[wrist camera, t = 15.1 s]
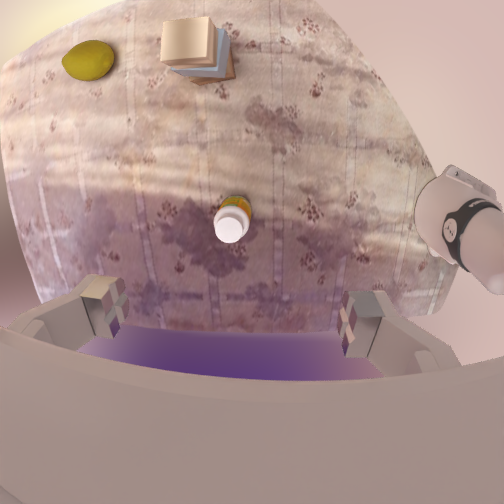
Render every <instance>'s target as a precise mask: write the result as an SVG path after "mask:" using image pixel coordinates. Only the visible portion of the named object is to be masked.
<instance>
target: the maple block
mask: <svg viewBox="0 0 504 504" xmlns="http://www.w3.org/2000/svg"><path fill="white" fill-rule="evenodd" d="M217 48H218V30H217V29H216V27H215V25H214V24H213V22H212V21H211V19H210V17H209V16H207V17H196V18H186V19H178V20H171V21H165V22H163V29H162V41H161V55H160V61H161V62H163V63H165V64H167V65H169V66H171V67H173V68H175V69H177V70H178V69H190V68H205V67H217Z"/></svg>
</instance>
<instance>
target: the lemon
mask: <svg viewBox="0 0 504 504" xmlns="http://www.w3.org/2000/svg"><path fill="white" fill-rule="evenodd" d="M113 62H114V53H113V51H112V49H111V48H110V46H109V45H107V44H106V43H104V42H101V41H98V40H89V41H85V42H82V43H80V44H78V45H76V46H75V47H73V48H72V49H71V50H70V51H69V52H68V53H67V54H66V55H65V56H64V57H63V58H62V65H63V67H64V68H65V70H66V72H67V73H68V74H69V75H70V76H71V77H73V78H75V79H78V80H82V81H92V80H97V79H99V78H101V77H102V76H104V75H105V74H106V73H107V72H108V71H109V69H110V68H111V66H112V64H113Z"/></svg>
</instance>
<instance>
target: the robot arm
mask: <svg viewBox="0 0 504 504" xmlns="http://www.w3.org/2000/svg"><path fill="white" fill-rule="evenodd" d="M456 172H457V174H456V175H455V173H456ZM414 219H415V226H416V229H417V232H418V234H419V235H420V237H421V238H422V239H423V240H424V241H425V242H426V244H427V247H428V250H429V253H430V254H431V255H432V256H434V257H437V256H441V257H442V258H444V259H445V260H446V261H447V262H449V263H450V264H452V265H454V264H458V265H459V266H460V267H462V268H463V269H464V270H466V271H467V272H470V273H472V274H473V275H474V276H475V277H476V278H477V279H478V280H479V281H480V282H481V283H482V285H483V286H484V287H485V288H486V289H487V290H488V291H489V292H491V293H493V294H497V295H504V213H503V212H502V206H501V204H500V203H499V202H497V201H496V192H495V190H494V189H492V188H491V187H490V186H488V185H486V184H485V183H483V182H481V181H480V180H478V179H476V178H475V177H473V176H471V175H470V174H468V173H466V172H464V171H462V170H461V169H459V168H457V167H455V166H453V165H449V166H448V167H447V168H446V169H445V170H444V171H443V173H442V174H441V175H440V176H439V177H437V178H435V179H433V180H432V181H431V182H429V183H428V184H427V185H426V186H425V188H424V189H423V190H422V192H421V194H420V195H419V198H418V200H417V203H416V207H415V215H414ZM125 288H126V287H125V283H124V280H123V279H122V278H121V277H113V276H104V275H97V274H88V275H87V276H86V277H85V278H84V279H83V280H82V281H81V282H80V283H79V284H78V285H77V286H76V287H75V288H74V289H73V290H72V291H71V292H70V293H69V294H64V295H62V296H60V297H57V298H55V299H53V300H50V301H48V302H46V303H43V304H41V305H39V306H37V307H34V308H32V309H30V310H28V311H25V312H23V313H21V314H20V315H19V316H18V317H17V318H16V319H15V320H14V321H13V322H12V323H11V324H10V325H9V326H8V327H7V328H4V327H1V326H0V504H504V356H503V357H499V358H495V359H491V360H487V361H483V362H478V363H474V364H469V365H465V366H461V364H460V362H459V360H458V358H457V357H456V355H455V353H454V351H453V350H452V348H451V347H450V346H449V345H447V344H446V343H444V342H443V341H441V340H440V339H438V338H436V337H435V336H433V335H432V334H430V333H429V332H427V331H425V330H424V329H422V328H421V327H419V326H417V325H416V324H414V323H413V322H411V321H409V320H408V319H406V318H405V317H403V316H399V315H398V313H397V311H396V310H395V308H394V306H393V304H392V302H391V301H390V299H389V297H388V295H387V294H386V292H385V291H345V292H344V295H343V298H342V303H343V306H344V307H343V308H342V309H341V310H340V311H339V316H338V325H337V327H338V333H339V336H340V337H341V338H342V339H343V341H342V349H343V353H344V356H345V358H362V357H367V359H368V360H369V361H370V362H371V363H372V364H373V365H374V366H375V367H376V368H377V369H378V370H379V371H380V372H381V373H382V374H383V375H384V376H385V377H382V378H371V379H357V380H337V381H274V380H252V379H237V378H224V377H213V376H205V375H196V374H188V373H180V372H173V371H167V370H160V369H154V368H149V367H142V366H137V365H133V364H128V363H122V362H118V361H114V360H109V359H105V358H100V357H96V356H92V355H88V354H84V353H81V352H77V351H76V350H78V349H79V348H80V347H82V346H83V345H85V344H86V343H87V342H89V341H90V340H92V339H93V338H95V336H97V337H103V338H110V339H114V337H115V336H116V334H117V333H118V331H119V330H120V325H119V324H120V323H122V322H123V321H125V320H126V318H127V316H128V313H129V300H128V297H127V296H126V295H125V294H124V290H125Z"/></svg>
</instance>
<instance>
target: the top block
mask: <svg viewBox="0 0 504 504" xmlns="http://www.w3.org/2000/svg"><path fill="white" fill-rule="evenodd" d="M217 30H218V48H217V67H205V68H190V69H178V70H177V69H175V68H173V67H171V70H172V71H174V72H176V73H178V74H180V75H182V76H192V77H216V78H225V74H226V68H227V61H228V55H229V49H230V43H231V41H230V39H229V37H228V35H227V33H226V31H225V29H217Z"/></svg>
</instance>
